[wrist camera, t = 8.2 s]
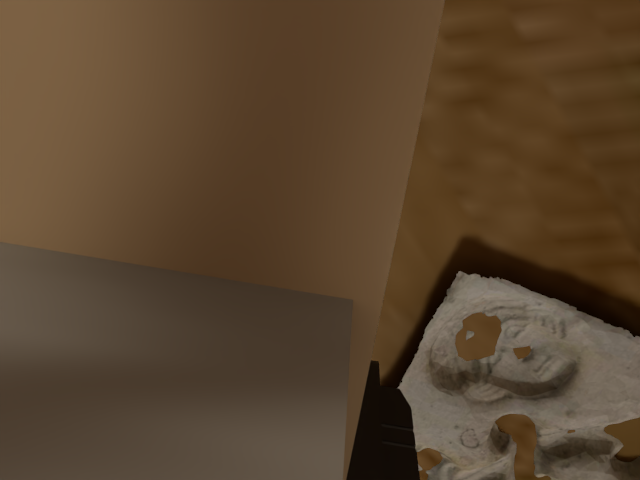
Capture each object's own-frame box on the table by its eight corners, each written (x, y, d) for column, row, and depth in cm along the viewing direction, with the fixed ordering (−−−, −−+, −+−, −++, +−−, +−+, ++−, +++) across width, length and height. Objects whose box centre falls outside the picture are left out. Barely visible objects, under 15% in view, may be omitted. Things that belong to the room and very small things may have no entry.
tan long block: (423, -76, 8) (490, -219, 3) (304, 588, 15) (280, 799, 11) (127, -112, 8) (-145, -288, 4) (152, 561, 15) (71, 757, 11)
